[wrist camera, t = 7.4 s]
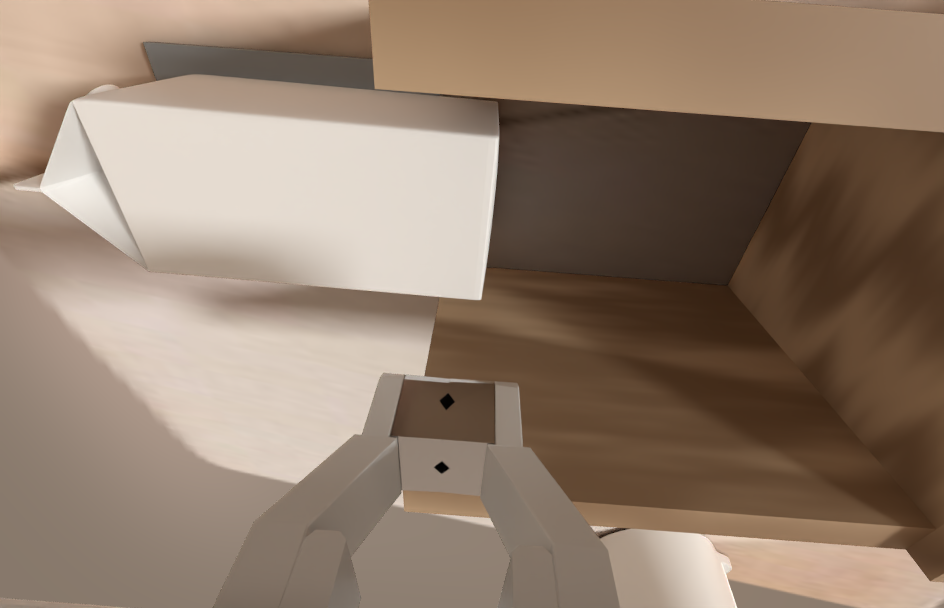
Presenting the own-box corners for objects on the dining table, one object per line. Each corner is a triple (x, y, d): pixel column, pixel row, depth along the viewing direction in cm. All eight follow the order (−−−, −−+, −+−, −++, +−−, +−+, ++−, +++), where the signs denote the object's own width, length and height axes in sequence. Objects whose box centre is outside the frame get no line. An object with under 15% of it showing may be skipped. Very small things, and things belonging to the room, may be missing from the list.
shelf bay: (736, 305, 27) (965, 583, 14) (445, 283, 27) (399, 541, 14) (886, 32, 18) (1923, 83, 5) (453, -1, 18) (345, -37, 5)
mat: (438, 249, 25) (437, 252, 25) (213, 232, 25) (210, 235, 25) (440, 64, 19) (439, 64, 19) (148, 41, 19) (142, 42, 19)
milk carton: (485, 302, 18) (59, 265, 18) (487, 233, 24) (165, 204, 24) (504, 136, 14) (-48, 86, 14) (501, 100, 20) (111, 64, 20)
